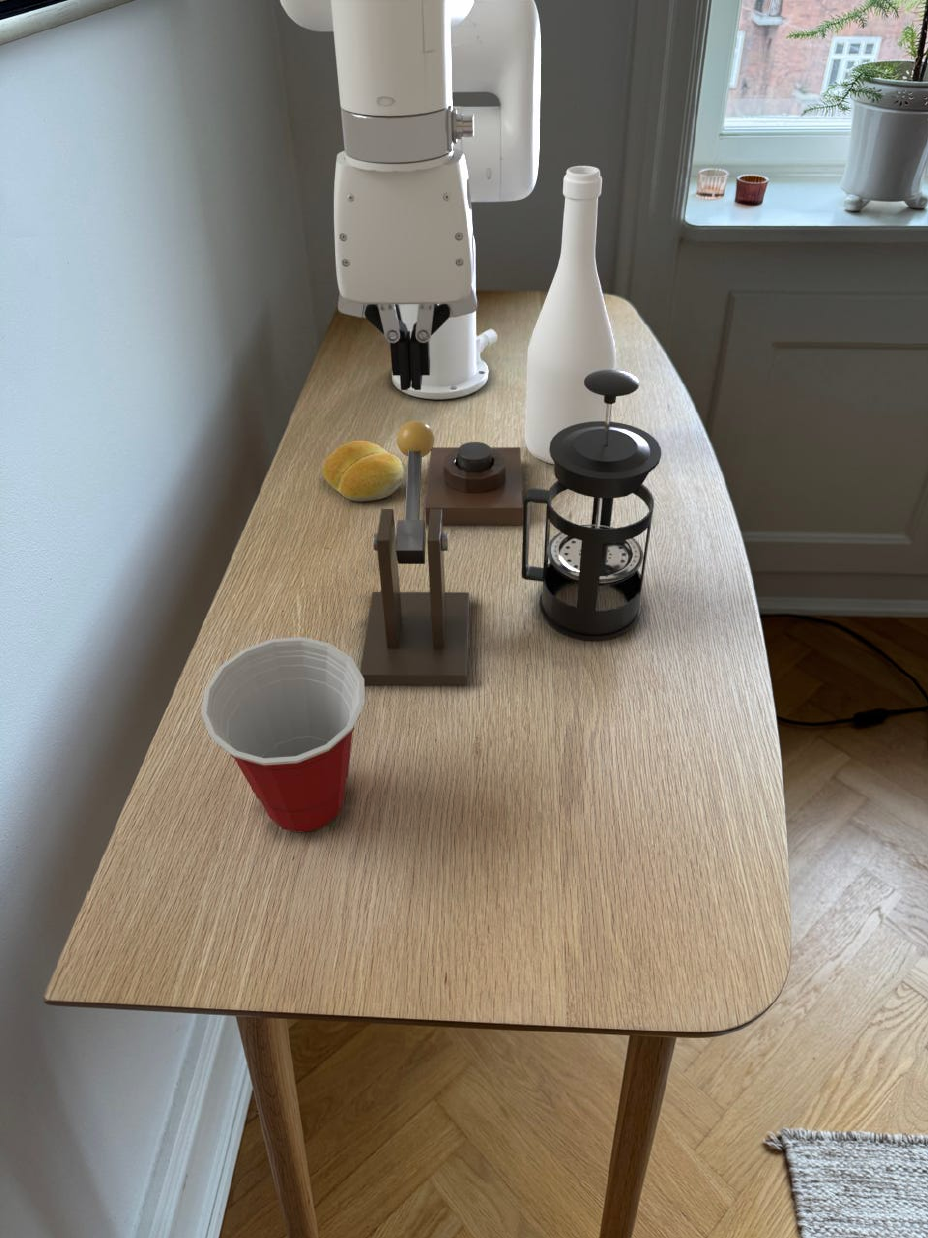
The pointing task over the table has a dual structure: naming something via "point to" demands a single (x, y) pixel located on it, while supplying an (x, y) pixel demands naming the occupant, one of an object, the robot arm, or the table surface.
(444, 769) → the table surface
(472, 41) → the robot arm
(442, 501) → the button block
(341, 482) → the bread roll
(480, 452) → the button
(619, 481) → the french press
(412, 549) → the grey lever with knob
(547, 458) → the wine bottle
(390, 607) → the bracket
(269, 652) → the plastic cup
